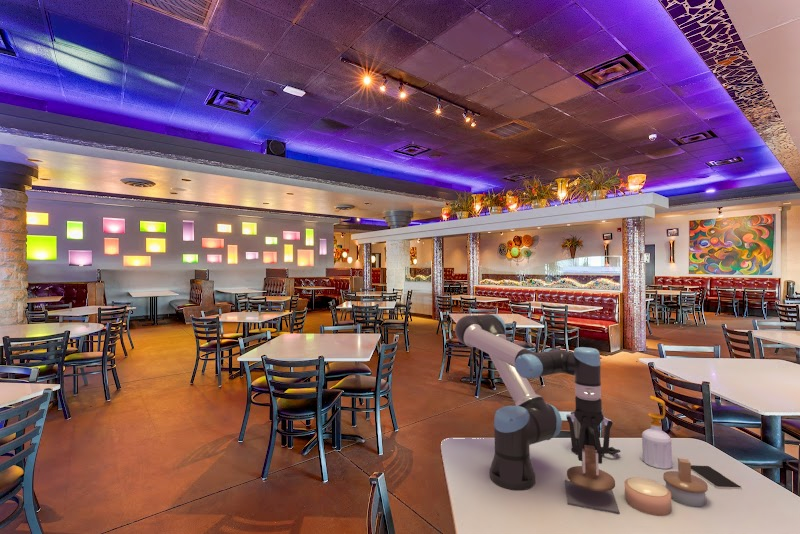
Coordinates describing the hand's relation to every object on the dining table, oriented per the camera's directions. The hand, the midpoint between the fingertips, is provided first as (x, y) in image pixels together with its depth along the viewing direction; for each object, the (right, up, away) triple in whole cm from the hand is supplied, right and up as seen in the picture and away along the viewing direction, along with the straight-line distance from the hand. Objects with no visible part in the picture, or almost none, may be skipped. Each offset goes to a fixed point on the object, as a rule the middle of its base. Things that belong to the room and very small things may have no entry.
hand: (590, 471), depth 120 cm
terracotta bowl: (+16, -8, -4) cm, 18 cm away
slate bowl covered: (+30, -8, -1) cm, 31 cm away
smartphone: (+48, -9, +11) cm, 50 cm away
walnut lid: (0, -2, 0) cm, 2 cm away
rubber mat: (0, -8, 0) cm, 8 cm away
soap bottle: (+36, -9, +22) cm, 43 cm away
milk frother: (+17, -9, +30) cm, 36 cm away
